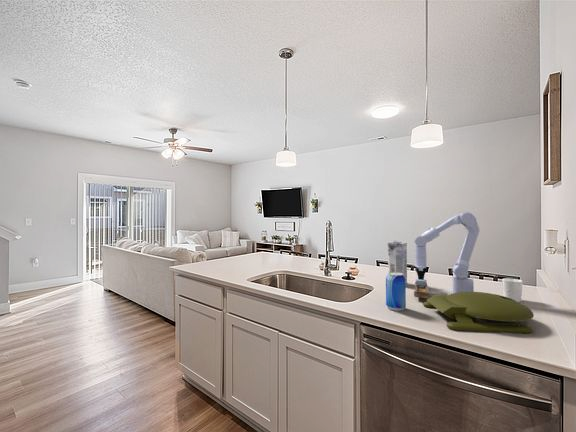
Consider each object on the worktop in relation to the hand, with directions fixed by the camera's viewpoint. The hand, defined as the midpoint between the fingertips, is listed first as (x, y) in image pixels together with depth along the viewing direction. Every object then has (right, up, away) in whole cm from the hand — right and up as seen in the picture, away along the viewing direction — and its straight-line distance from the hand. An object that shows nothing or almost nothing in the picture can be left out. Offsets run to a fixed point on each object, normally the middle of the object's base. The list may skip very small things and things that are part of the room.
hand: (420, 281), depth 156 cm
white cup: (+37, -5, -18) cm, 41 cm away
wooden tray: (-4, -5, -10) cm, 12 cm away
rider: (-2, -2, -4) cm, 5 cm away
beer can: (-25, -6, -29) cm, 39 cm away
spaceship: (+4, -6, -41) cm, 42 cm away
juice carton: (-6, -6, +18) cm, 19 cm away
